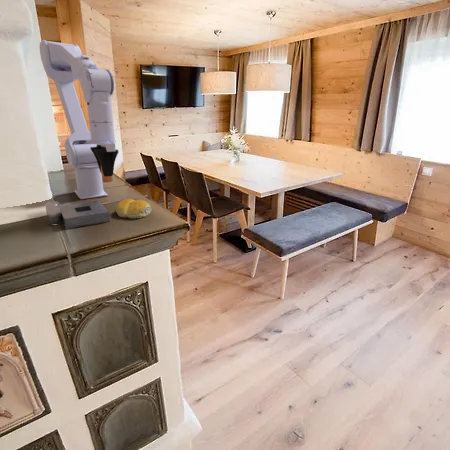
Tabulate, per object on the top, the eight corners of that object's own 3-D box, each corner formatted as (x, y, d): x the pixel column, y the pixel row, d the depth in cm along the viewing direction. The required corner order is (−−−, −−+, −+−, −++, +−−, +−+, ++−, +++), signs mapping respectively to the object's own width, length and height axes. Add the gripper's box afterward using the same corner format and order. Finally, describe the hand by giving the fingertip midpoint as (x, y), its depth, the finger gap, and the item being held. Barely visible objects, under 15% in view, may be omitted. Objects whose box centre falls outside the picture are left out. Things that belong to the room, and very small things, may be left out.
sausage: (101, 180, 84) (98, 158, 82) (111, 179, 85) (108, 157, 83) (103, 182, 82) (101, 160, 80) (113, 181, 83) (111, 159, 81)
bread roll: (127, 207, 87) (126, 193, 86) (155, 211, 85) (154, 197, 84) (109, 216, 80) (107, 202, 79) (139, 221, 78) (138, 206, 76)
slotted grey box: (46, 217, 77) (42, 198, 75) (100, 209, 84) (98, 191, 82) (51, 231, 70) (47, 210, 68) (110, 221, 77) (108, 202, 75)
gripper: (78, 119, 81) (85, 170, 86) (91, 124, 70) (97, 182, 75) (106, 119, 85) (110, 168, 90) (122, 124, 74) (126, 179, 79)
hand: (106, 174), depth 83 cm, fingers closed on sausage, 3 cm apart
